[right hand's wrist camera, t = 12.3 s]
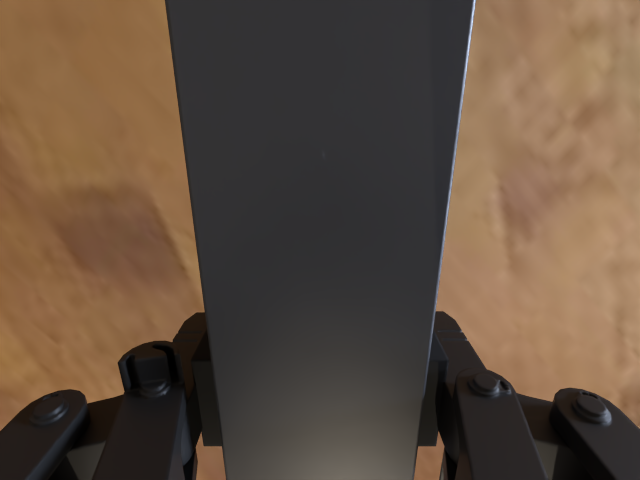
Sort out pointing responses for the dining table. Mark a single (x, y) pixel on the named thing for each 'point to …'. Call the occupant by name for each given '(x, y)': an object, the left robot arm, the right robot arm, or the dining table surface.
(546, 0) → the dining table surface
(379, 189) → the beam
